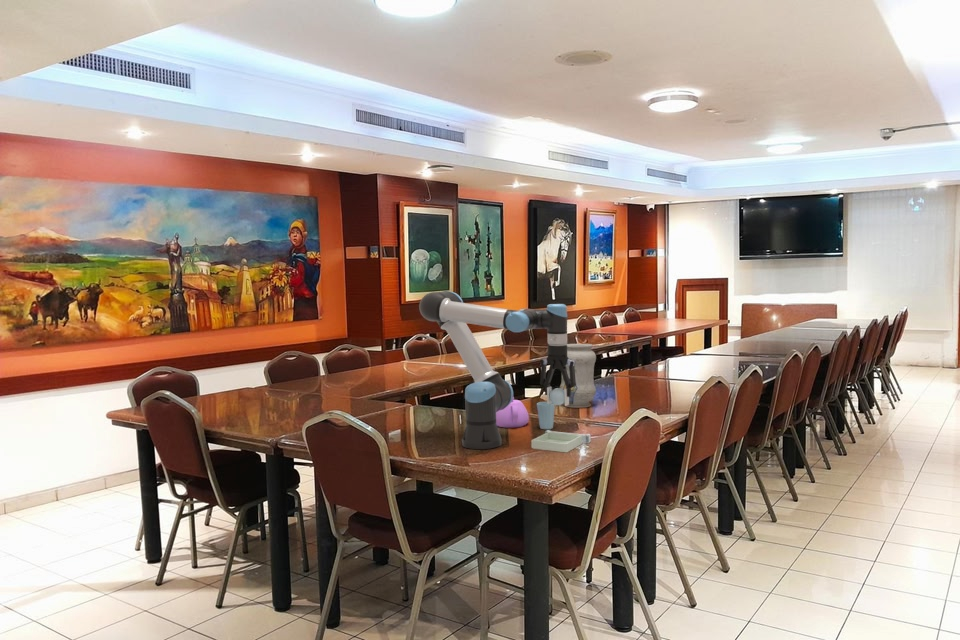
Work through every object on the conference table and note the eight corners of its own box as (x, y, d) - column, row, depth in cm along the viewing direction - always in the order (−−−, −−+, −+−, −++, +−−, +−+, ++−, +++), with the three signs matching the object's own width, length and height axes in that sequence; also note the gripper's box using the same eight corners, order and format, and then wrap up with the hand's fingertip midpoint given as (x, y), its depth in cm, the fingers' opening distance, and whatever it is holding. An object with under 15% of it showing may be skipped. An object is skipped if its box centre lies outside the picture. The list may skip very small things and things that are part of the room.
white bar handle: (545, 438, 271) (545, 431, 271) (548, 437, 273) (547, 429, 273) (588, 443, 262) (588, 435, 262) (590, 441, 264) (590, 434, 264)
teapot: (534, 428, 290) (534, 400, 289) (498, 431, 287) (497, 402, 286) (522, 418, 311) (521, 391, 310) (488, 420, 309) (487, 393, 308)
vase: (577, 400, 349) (575, 341, 347) (604, 405, 335) (603, 343, 333) (552, 405, 338) (550, 344, 336) (579, 410, 324) (578, 347, 322)
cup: (553, 425, 294) (553, 401, 294) (557, 429, 287) (556, 404, 286) (536, 426, 294) (535, 402, 293) (539, 430, 286) (538, 405, 285)
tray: (531, 448, 257) (531, 440, 257) (548, 440, 269) (547, 432, 269) (566, 452, 249) (566, 444, 249) (582, 443, 262) (581, 435, 261)
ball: (547, 405, 263) (546, 389, 263) (553, 402, 269) (553, 386, 268) (563, 407, 260) (562, 390, 260) (569, 404, 266) (568, 387, 265)
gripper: (530, 344, 264) (530, 404, 266) (578, 346, 255) (578, 408, 256) (537, 342, 271) (538, 400, 272) (585, 344, 261) (585, 404, 263)
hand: (558, 404), depth 264 cm, fingers closed on ball, 6 cm apart
